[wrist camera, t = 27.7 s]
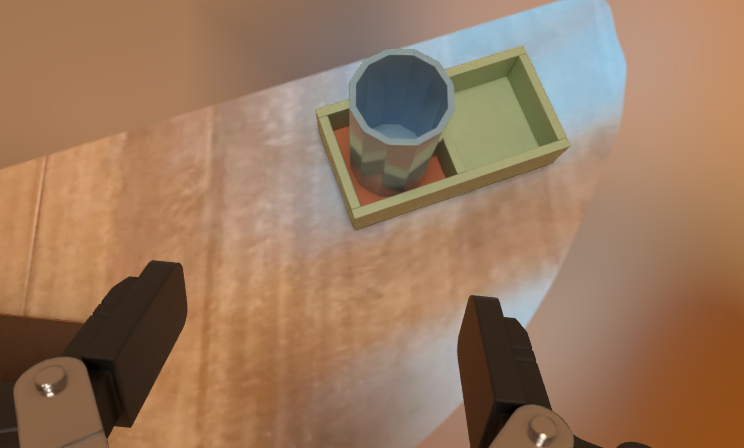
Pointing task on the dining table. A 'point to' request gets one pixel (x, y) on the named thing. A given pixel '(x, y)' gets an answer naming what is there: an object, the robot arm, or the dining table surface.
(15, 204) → the dining table surface
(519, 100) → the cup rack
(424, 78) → the cup
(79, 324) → the brown square block
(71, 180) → the dining table surface
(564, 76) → the dining table surface
